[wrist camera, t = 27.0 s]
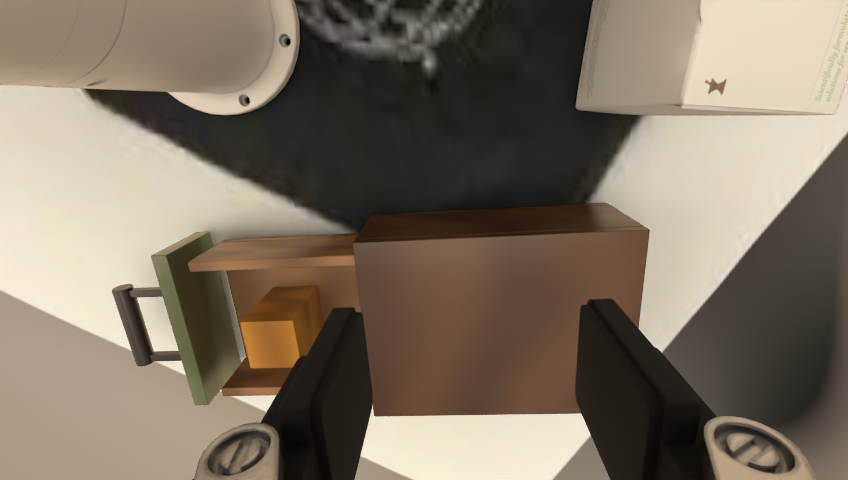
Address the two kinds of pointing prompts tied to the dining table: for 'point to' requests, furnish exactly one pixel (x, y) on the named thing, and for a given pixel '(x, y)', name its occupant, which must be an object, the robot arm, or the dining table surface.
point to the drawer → (249, 282)
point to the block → (282, 326)
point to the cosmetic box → (715, 57)
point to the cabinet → (489, 303)
